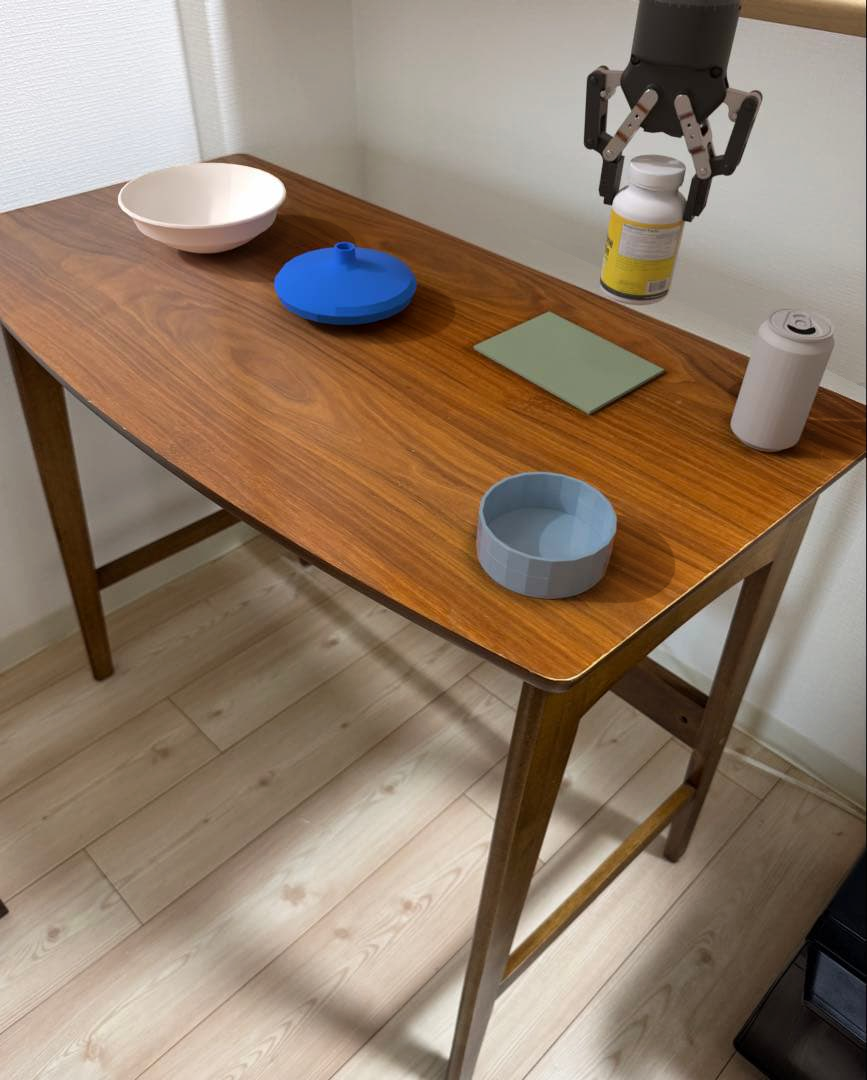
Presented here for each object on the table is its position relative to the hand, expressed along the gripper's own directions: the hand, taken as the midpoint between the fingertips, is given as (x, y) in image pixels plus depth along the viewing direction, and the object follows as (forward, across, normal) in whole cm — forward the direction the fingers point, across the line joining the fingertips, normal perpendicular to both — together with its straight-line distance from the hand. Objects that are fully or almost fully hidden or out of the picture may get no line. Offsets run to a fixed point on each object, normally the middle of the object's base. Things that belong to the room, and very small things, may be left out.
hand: (649, 209), depth 78 cm
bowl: (+18, -55, +8) cm, 59 cm away
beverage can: (+19, +15, -1) cm, 24 cm away
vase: (+18, -32, +2) cm, 37 cm away
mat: (+18, -6, +3) cm, 20 cm away
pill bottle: (+8, 0, 0) cm, 8 cm away
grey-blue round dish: (+18, +2, -26) cm, 32 cm away
